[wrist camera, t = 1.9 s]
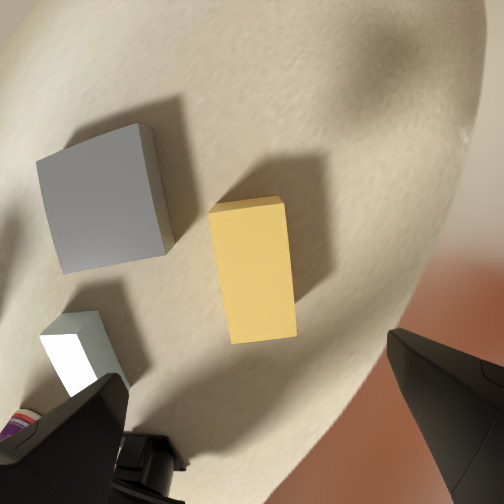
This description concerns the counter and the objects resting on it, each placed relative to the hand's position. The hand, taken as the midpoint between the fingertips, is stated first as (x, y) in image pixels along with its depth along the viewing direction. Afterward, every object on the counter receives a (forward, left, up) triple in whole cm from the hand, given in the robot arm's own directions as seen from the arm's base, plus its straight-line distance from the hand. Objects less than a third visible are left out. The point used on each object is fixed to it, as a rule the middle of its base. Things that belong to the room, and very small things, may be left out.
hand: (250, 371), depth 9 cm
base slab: (+6, +9, -12) cm, 16 cm away
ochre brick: (0, 0, -12) cm, 12 cm away
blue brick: (-6, +15, -12) cm, 20 cm away
